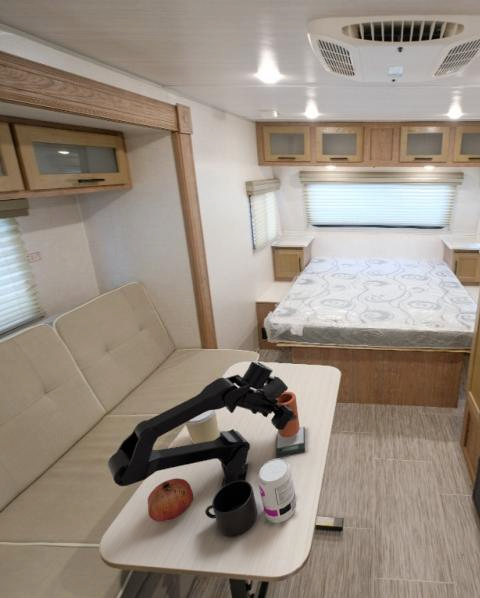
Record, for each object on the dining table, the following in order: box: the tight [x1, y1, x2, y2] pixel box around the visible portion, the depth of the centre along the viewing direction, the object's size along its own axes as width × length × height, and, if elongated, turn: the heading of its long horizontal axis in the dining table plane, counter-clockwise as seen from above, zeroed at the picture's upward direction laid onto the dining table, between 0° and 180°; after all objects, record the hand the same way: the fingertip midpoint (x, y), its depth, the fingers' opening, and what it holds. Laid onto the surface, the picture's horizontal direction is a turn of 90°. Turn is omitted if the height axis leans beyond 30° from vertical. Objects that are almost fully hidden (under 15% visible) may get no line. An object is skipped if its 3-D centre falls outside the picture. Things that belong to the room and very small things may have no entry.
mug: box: [204, 480, 259, 538], centre depth 89 cm, size 9×12×9 cm
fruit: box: [147, 477, 195, 523], centre depth 91 cm, size 11×10×10 cm
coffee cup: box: [184, 410, 220, 444], centre depth 114 cm, size 9×9×12 cm
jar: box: [276, 391, 301, 437], centre depth 111 cm, size 7×7×13 cm
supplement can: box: [257, 458, 297, 524], centre depth 90 cm, size 8×8×15 cm
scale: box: [275, 426, 306, 458], centre depth 115 cm, size 10×9×2 cm
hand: (290, 412), depth 112 cm, fingers closed on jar, 7 cm apart
